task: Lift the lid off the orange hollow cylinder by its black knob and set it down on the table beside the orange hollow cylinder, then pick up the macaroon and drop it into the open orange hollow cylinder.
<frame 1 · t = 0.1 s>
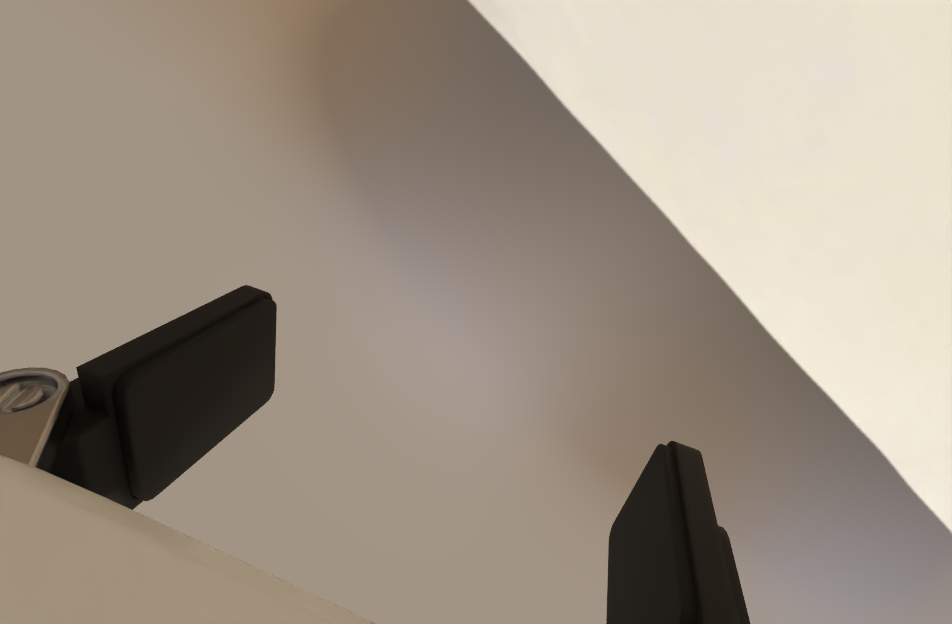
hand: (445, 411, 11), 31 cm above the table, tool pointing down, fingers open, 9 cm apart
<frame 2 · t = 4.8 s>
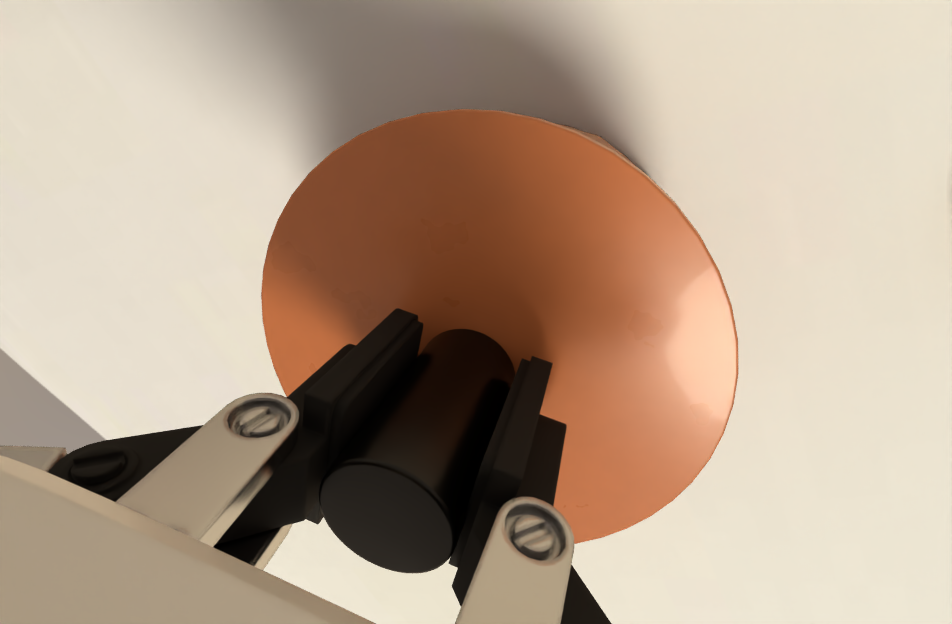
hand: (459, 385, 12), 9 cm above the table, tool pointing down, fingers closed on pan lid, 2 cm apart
pan lid: (473, 362, 13), point 8 cm above the table, touching gripper, orange hollow cylinder
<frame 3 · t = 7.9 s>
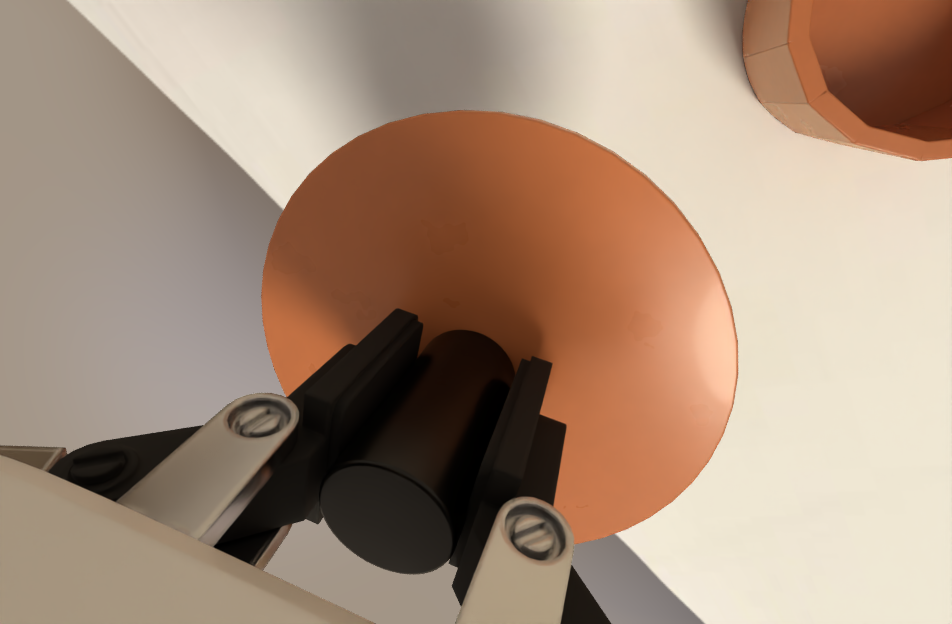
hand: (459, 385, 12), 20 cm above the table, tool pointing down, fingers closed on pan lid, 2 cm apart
orange hollow cylinder: (887, 5, 21), on the table
pan lid: (473, 362, 13), point 19 cm above the table, touching gripper
when the fingers open (2 cm above the table, at t = 11.4 s): pan lid stays where it is, point 1 cm above the table.
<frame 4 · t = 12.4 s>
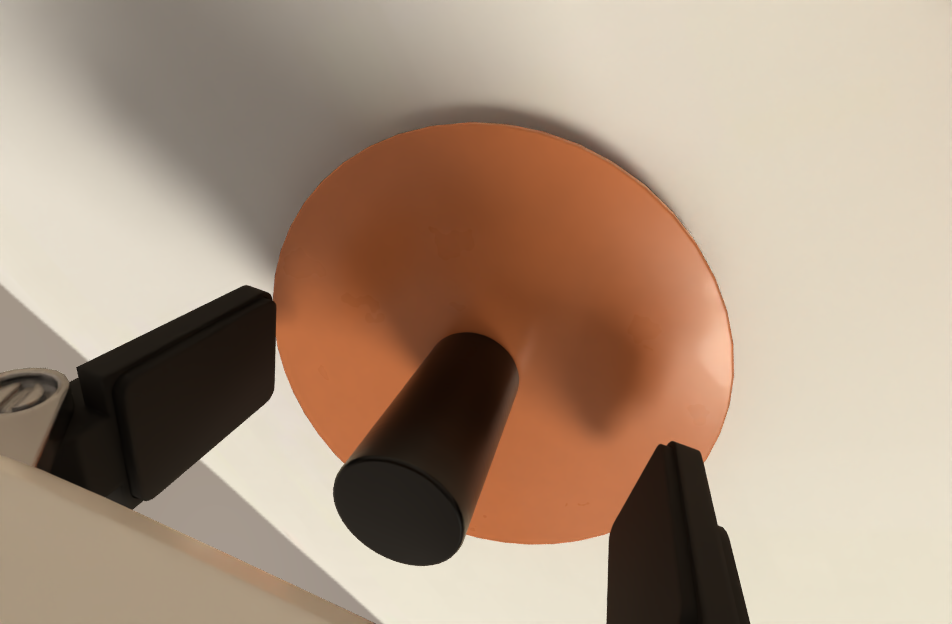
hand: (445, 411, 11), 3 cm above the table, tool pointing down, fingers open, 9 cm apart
pan lid: (478, 364, 13), point 1 cm above the table
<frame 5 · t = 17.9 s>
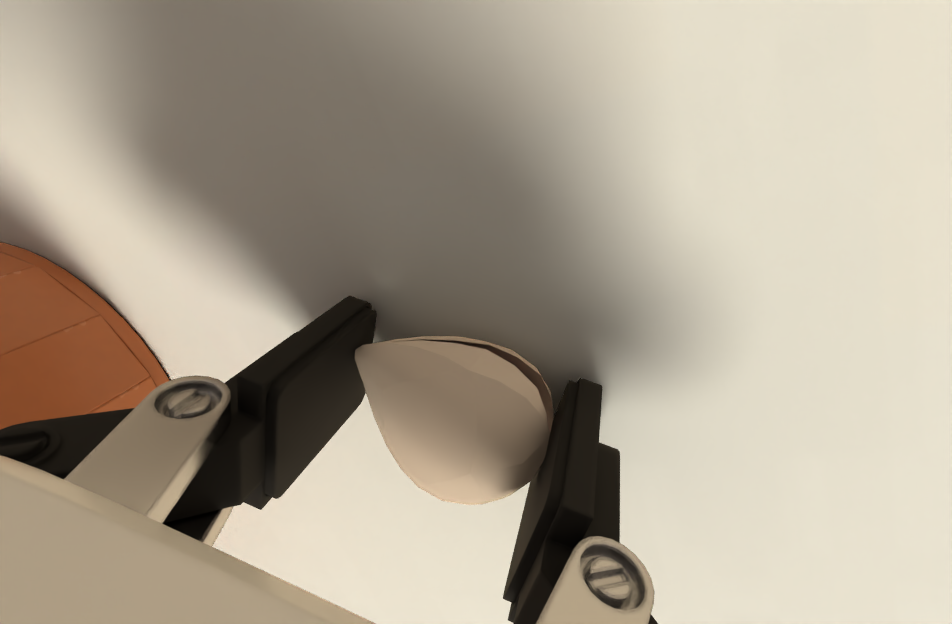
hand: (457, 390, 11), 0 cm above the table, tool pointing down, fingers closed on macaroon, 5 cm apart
orange hollow cylinder: (61, 393, 17), on the table
macaroon: (463, 375, 12), on the table, touching gripper
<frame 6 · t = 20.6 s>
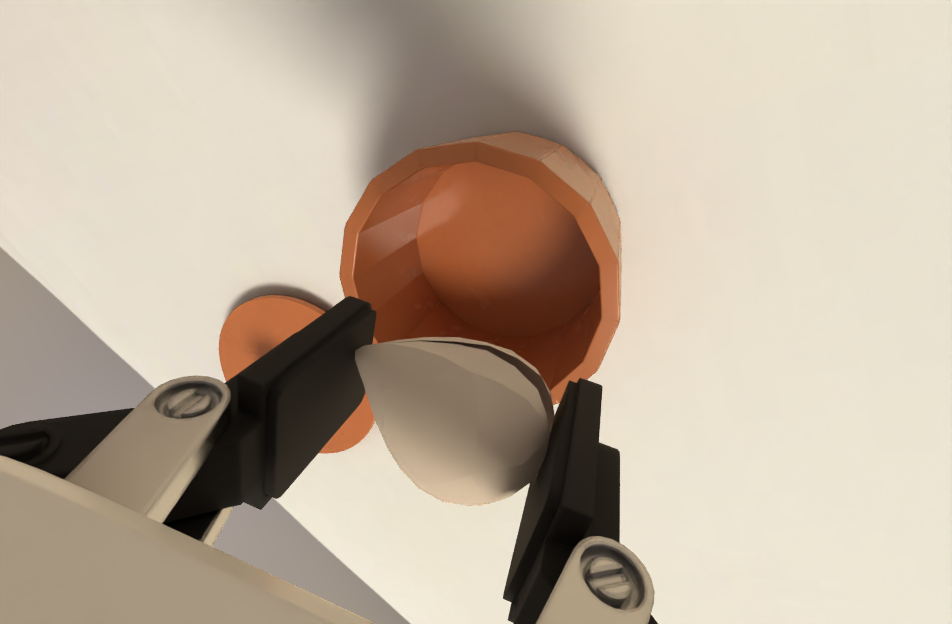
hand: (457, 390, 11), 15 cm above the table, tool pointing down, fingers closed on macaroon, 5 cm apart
orange hollow cylinder: (509, 247, 25), on the table
pan lid: (298, 377, 33), point 1 cm above the table
macaroon: (463, 376, 12), point 14 cm above the table, touching gripper
when the fingers open (6 cm above the table, at t = 23.5 s): macaroon drops 5 cm, resting on orange hollow cylinder.
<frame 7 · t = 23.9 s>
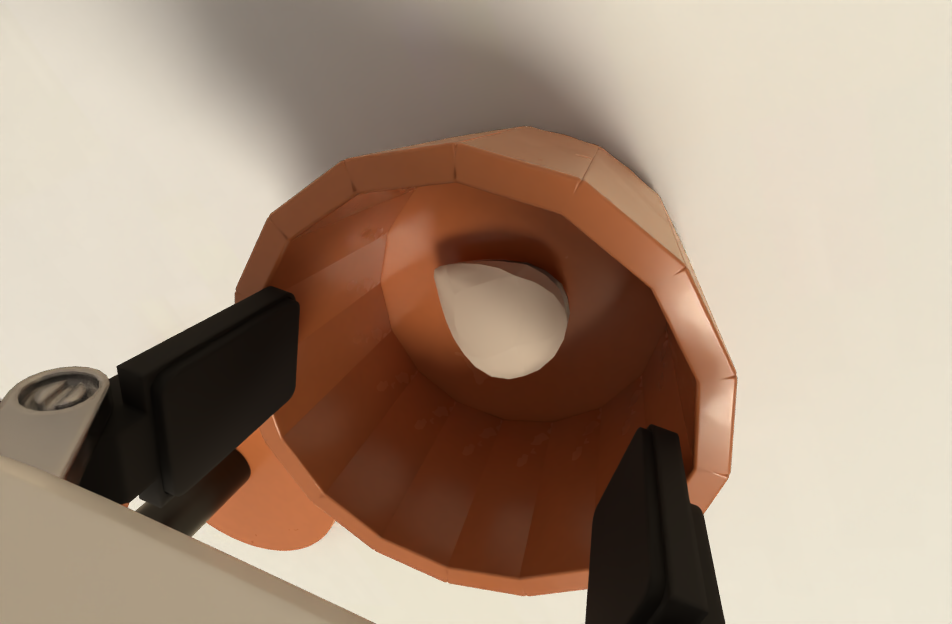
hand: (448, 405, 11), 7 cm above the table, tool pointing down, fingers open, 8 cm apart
orange hollow cylinder: (515, 297, 17), on the table
pan lid: (237, 456, 25), point 1 cm above the table
macaroon: (504, 294, 17), resting on orange hollow cylinder
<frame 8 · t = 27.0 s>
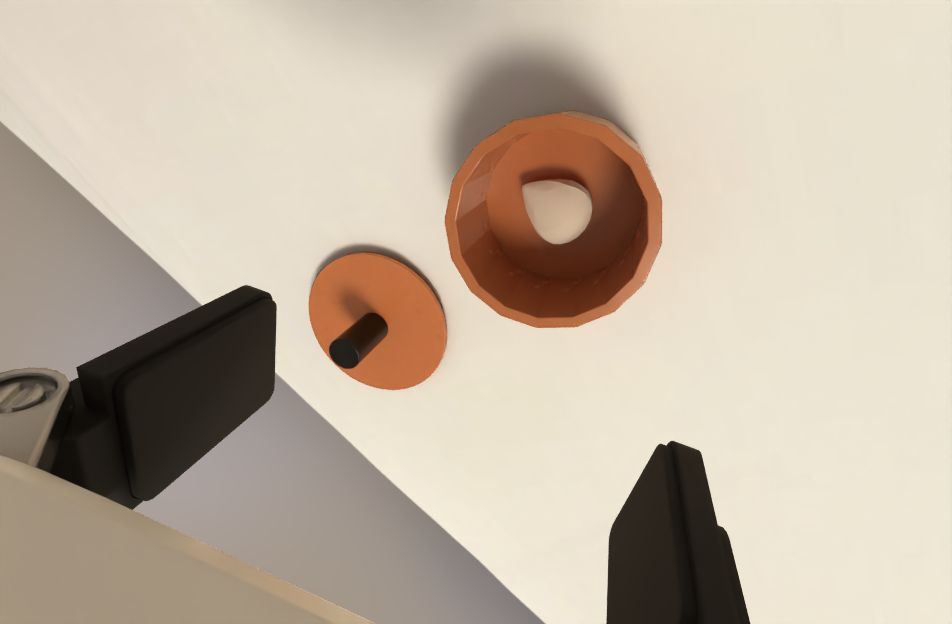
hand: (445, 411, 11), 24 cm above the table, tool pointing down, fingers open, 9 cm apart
orange hollow cylinder: (562, 204, 32), on the table
pan lid: (377, 323, 40), point 1 cm above the table
macaroon: (556, 202, 32), resting on orange hollow cylinder
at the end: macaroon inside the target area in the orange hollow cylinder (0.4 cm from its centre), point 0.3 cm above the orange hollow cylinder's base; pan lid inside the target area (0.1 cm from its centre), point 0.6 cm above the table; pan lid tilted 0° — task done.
